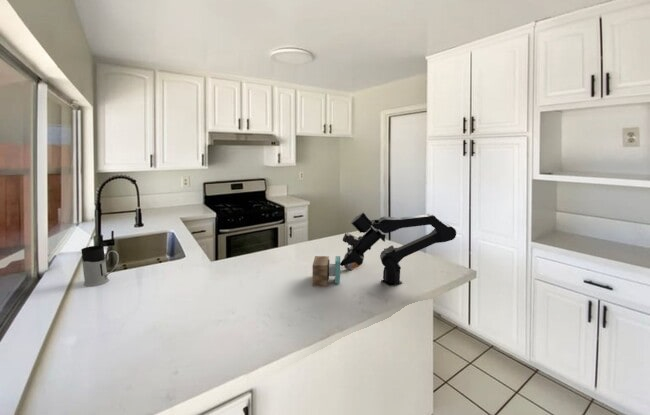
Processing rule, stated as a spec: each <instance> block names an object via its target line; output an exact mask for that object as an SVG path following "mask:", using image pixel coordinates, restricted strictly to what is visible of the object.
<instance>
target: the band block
mask: <svg viewBox="0 0 650 415" xmlns="http://www.w3.org/2000/svg"><path fill="white" fill-rule="evenodd" d="M329 258H330V256H327V255H326V256H325V255H324V256H323V255H319V256H318V255H315V256H314V258H313V262H312V287H325V288H326V287H328V283H329V281H330V276H329V264H330V262H331V261H330V259H329Z"/></svg>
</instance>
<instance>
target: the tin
mask: <svg viewBox="0 0 650 415" xmlns="http://www.w3.org/2000/svg"><path fill="white" fill-rule="evenodd" d="M346 254H347V252H346V253H345V254H344V256H343V258H344V257H345V256H346ZM362 257H363V261H364V259H365V255H364V256H362ZM343 267H344V268H345V269H346V270H350V271H352V270H355V269H357V268H358V267H360V266H359V265H358V264H357V263H356V262H354V263H350V264H347V265H344V266H343Z"/></svg>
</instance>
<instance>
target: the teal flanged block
mask: <svg viewBox="0 0 650 415" xmlns="http://www.w3.org/2000/svg"><path fill="white" fill-rule="evenodd" d="M340 263H341V256H340V255H337V256H335V261H334V263H329V277H334V283H335V284H340V283H341V265H340Z"/></svg>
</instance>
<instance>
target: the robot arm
mask: <svg viewBox="0 0 650 415" xmlns="http://www.w3.org/2000/svg"><path fill="white" fill-rule="evenodd" d="M350 224H351V225H352V226H353V227H354V228H355V229H356V230H357V231H358V233H359V234H361V233H363V235H361V236H358V237H357V236H355V235H354V234H351V233H349V232H347V231H346V232H345V233H344V235H343V237H342V242H344V243H346V244H347V245H348V246H351V247H347V248H346V249H347V251H346V253H347V254H346V253H345V254H346V256H345V255H344V256H345V257H344V256H343V259H342V260H341V261H340V267H344V265H347V264H350V263H354V262H356V263H357V264H358V265H359V266H358V267H360V266H362V264H363V263H364V260H363V257H362V256H364V257H365V253H366V252H367V251H368V250H369V251H370V250H371V249H372V247H373V246H374V245H376V243H378V241H379V240H381V241H382V242H386V234H389V233H392V232H396V231H398V230H400V229H404V228H414V227H415V228H416V227H421V226H431V227H432V228H433V229H432V230H431V232H429V233H428V234H425V235H423V236H421V237H418V238H416V239H415V240H412V241H410V242H408V243H406V244H404V245H402V246H399V247H394V245H393V244H391V245H390V246H388V247H386V248H383V250H382V251H381V252H380V254H379V259H380V262H381V264H382V266H384V267H383V274H382V275H383V276H382V279H381V280H380V282H381V283H383V284H386V285H388V286H391V287H395V286H398V285H400V284H403V281H401V279H400V278H401V269H402V267H401V265H400V262H401V261H402V260H403V259H404V258H406V257H408V256H410V255H412V254H414V253H417V252H419V251H422V250H424V249H426V248H428V247H430V246H432V245H434V244H439V243H441V244H442V243H446V242H450V241H453V240H454V239H455V238H456V237H457V231H456V228H455V227H453V226H452V225H450V224H448V223H445V222H442V221H441V220H440V219H438V218H437V217H436V216H435V215H434V214H432V213H426V214H420V215H413V216H404V217H393V216H382V217H380V218H379V219H370V218H369V217H368V216H367V215H366V213H365V212H361V214H359V215H356V217H354V218H353V219H352V221H351V222H350Z"/></svg>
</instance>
